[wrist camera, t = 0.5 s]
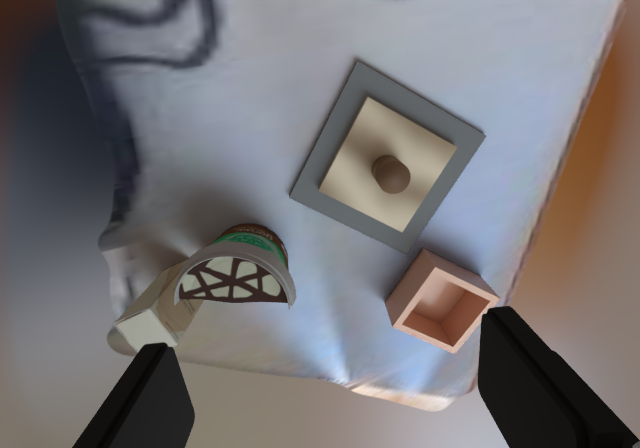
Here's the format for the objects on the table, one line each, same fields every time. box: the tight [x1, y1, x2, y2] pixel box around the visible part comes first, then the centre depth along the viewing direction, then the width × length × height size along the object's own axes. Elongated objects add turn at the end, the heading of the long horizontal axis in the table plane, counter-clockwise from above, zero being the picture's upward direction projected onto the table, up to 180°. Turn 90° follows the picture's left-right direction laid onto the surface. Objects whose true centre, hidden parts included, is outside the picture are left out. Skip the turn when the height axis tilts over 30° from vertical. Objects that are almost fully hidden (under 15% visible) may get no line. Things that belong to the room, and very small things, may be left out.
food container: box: [174, 223, 296, 309], centre depth 37 cm, size 12×6×10 cm, turn 87°
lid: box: [318, 97, 458, 232], centre depth 36 cm, size 11×11×5 cm
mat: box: [289, 61, 486, 254], centre depth 38 cm, size 16×16×1 cm
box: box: [114, 259, 204, 353], centre depth 38 cm, size 5×4×11 cm
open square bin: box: [385, 248, 500, 354], centre depth 42 cm, size 9×9×5 cm
